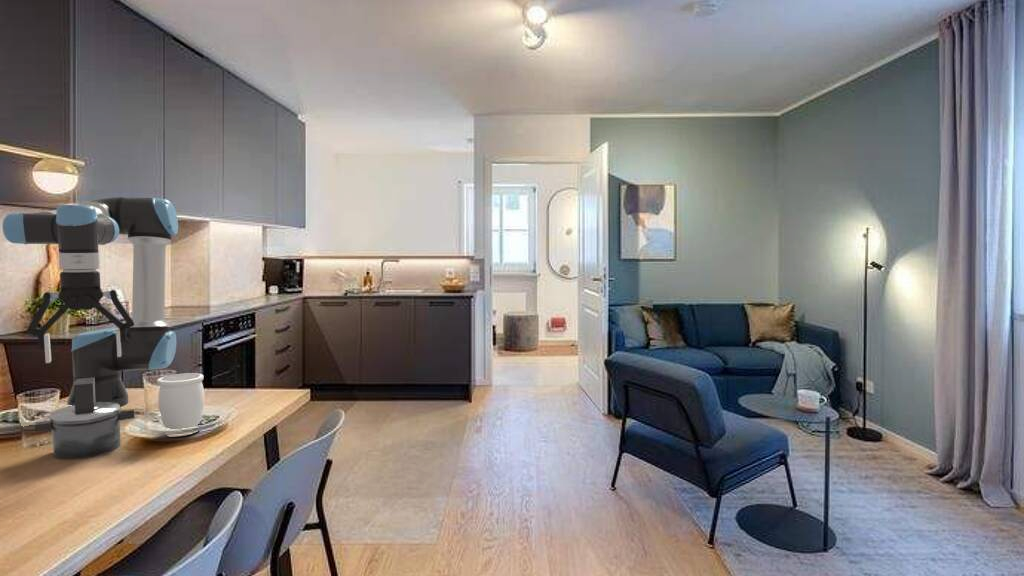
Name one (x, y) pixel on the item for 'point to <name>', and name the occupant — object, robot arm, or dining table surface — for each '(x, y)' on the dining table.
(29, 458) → the dining table surface
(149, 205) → the robot arm
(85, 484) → the dining table surface
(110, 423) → the pot
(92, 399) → the lid
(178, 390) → the jar
